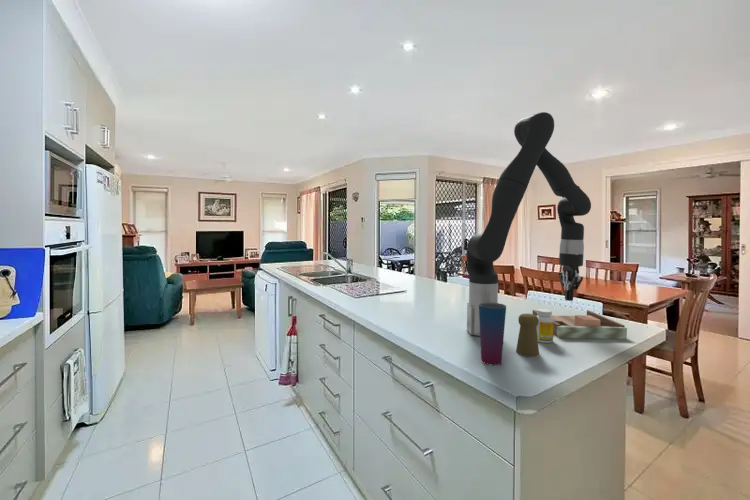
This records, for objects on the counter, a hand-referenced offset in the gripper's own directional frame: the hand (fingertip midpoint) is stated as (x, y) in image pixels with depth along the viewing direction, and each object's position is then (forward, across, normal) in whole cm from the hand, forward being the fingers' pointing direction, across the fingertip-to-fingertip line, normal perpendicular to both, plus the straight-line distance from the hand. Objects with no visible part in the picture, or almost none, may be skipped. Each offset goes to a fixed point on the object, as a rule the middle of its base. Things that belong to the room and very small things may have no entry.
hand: (568, 300), depth 124 cm
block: (+7, +10, +1) cm, 12 cm away
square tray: (+9, +4, 0) cm, 10 cm away
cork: (+10, +29, -25) cm, 39 cm away
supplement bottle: (+10, +18, -16) cm, 26 cm away
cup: (+10, +36, -37) cm, 52 cm away
